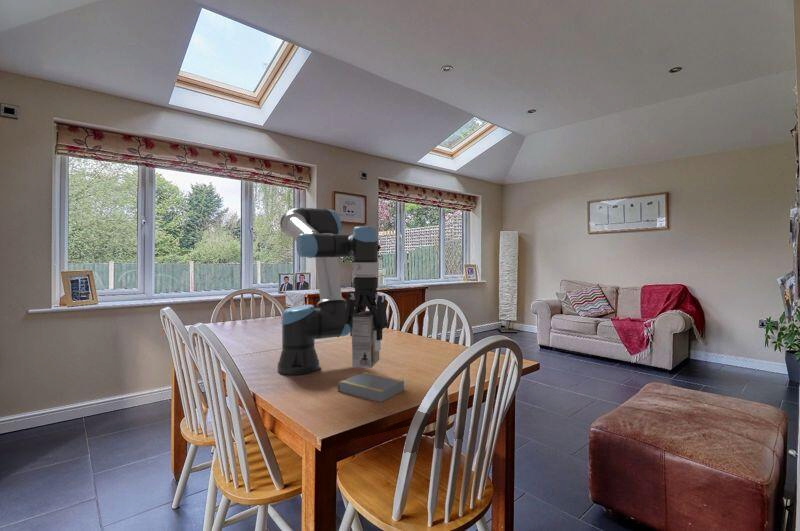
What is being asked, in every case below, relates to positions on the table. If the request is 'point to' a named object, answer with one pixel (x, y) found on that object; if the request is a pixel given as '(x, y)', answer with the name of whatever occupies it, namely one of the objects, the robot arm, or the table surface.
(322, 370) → the table surface
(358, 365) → the coffee box
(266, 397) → the table surface
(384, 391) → the dock
